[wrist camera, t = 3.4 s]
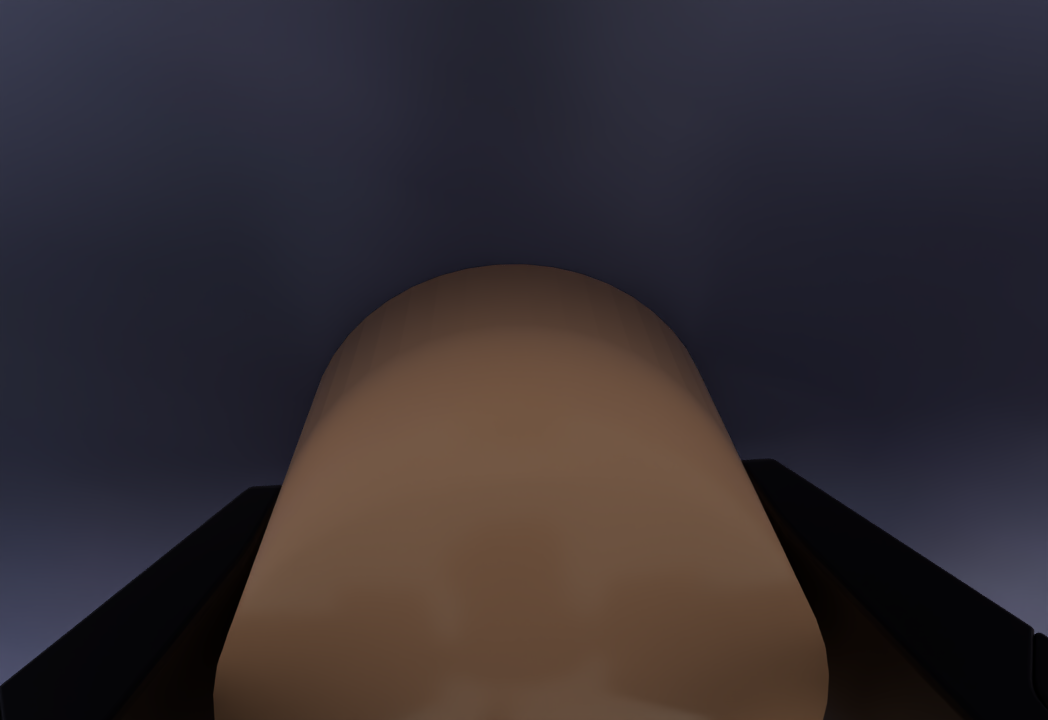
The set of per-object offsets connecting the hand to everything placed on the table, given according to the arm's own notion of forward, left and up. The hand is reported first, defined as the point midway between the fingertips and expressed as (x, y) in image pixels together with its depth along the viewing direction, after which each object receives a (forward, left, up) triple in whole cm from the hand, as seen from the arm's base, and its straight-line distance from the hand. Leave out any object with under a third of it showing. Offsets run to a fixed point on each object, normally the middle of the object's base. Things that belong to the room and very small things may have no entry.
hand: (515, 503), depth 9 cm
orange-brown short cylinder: (0, 0, -1) cm, 1 cm away
